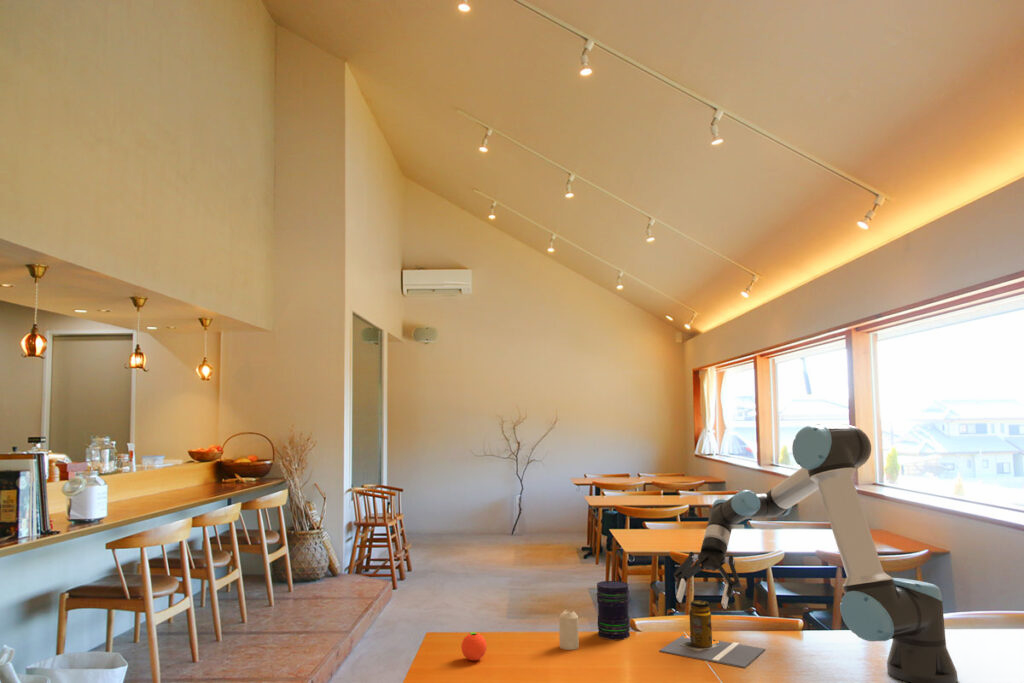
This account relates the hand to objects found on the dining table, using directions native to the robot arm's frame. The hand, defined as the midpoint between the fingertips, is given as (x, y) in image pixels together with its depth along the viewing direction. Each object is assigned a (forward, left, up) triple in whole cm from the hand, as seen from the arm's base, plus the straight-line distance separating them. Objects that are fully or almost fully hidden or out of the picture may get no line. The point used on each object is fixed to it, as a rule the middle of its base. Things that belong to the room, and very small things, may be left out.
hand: (700, 603), depth 198 cm
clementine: (+46, +49, -12) cm, 68 cm away
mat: (-5, +5, -11) cm, 13 cm away
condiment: (0, +4, -11) cm, 12 cm away
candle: (+30, +25, -12) cm, 41 cm away
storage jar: (+25, +7, -12) cm, 29 cm away
